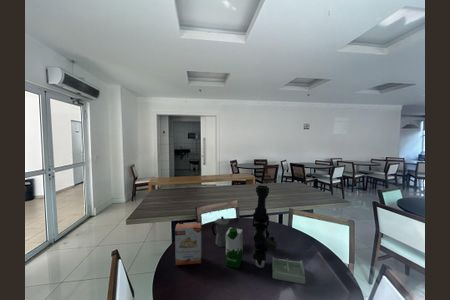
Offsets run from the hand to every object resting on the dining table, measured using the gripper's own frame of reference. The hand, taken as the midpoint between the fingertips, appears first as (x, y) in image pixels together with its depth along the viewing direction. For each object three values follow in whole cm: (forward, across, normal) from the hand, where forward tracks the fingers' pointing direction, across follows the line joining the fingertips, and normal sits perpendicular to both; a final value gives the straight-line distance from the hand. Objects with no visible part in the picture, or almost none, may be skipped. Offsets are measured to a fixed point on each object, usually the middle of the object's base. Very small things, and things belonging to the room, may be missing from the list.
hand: (260, 261), depth 100 cm
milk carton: (+2, -2, +14) cm, 14 cm away
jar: (+2, 0, 0) cm, 2 cm away
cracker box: (+2, -7, +39) cm, 40 cm away
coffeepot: (+2, +14, +26) cm, 30 cm away
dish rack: (+2, -3, -14) cm, 14 cm away
